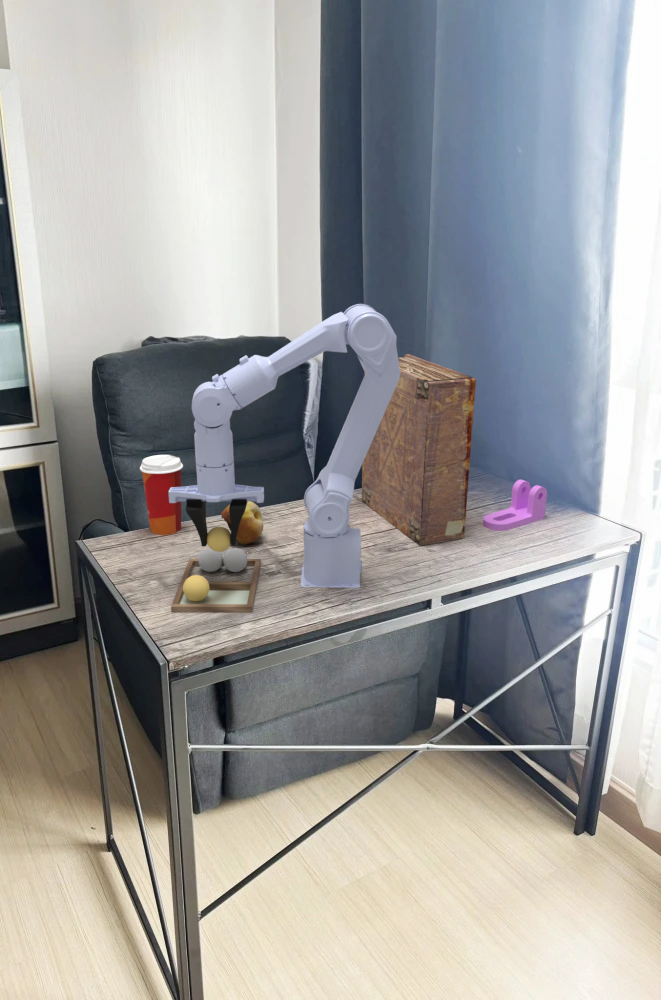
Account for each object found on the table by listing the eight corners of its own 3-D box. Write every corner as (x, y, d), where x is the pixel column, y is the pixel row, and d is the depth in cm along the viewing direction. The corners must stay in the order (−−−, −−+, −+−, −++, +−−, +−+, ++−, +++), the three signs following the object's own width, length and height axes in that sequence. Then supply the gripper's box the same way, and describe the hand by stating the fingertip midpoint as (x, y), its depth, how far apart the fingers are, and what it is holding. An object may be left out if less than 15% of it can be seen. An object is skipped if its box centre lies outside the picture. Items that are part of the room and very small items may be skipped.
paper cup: (168, 520, 155) (163, 451, 150) (195, 530, 151) (191, 459, 146) (135, 532, 150) (129, 460, 145) (162, 543, 145) (157, 469, 140)
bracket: (522, 510, 162) (525, 477, 160) (544, 519, 158) (547, 485, 155) (476, 524, 155) (479, 490, 152) (498, 533, 151) (501, 498, 148)
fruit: (243, 555, 140) (242, 512, 138) (212, 542, 145) (210, 501, 143) (274, 542, 146) (273, 501, 143) (242, 530, 151) (241, 490, 148)
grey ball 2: (252, 565, 134) (243, 543, 134) (248, 568, 130) (239, 545, 130) (230, 573, 135) (221, 551, 135) (226, 577, 131) (217, 554, 131)
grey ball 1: (218, 573, 135) (227, 551, 135) (216, 577, 131) (225, 554, 131) (196, 565, 134) (204, 542, 134) (193, 568, 130) (202, 545, 130)
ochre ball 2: (233, 545, 130) (233, 522, 128) (230, 556, 126) (230, 532, 124) (208, 545, 129) (207, 522, 128) (205, 555, 126) (204, 532, 124)
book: (361, 501, 166) (364, 356, 156) (400, 495, 170) (406, 353, 159) (420, 546, 144) (428, 382, 134) (464, 539, 148) (476, 377, 137)
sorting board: (260, 567, 136) (260, 557, 135) (252, 615, 120) (251, 605, 119) (189, 566, 136) (189, 557, 135) (171, 615, 120) (170, 605, 119)
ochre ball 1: (211, 593, 125) (210, 570, 124) (208, 606, 121) (206, 582, 120) (186, 593, 125) (184, 570, 124) (181, 605, 121) (180, 582, 120)
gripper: (162, 470, 119) (168, 554, 123) (260, 470, 119) (263, 554, 123) (171, 456, 125) (177, 536, 130) (263, 455, 125) (266, 536, 130)
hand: (219, 543), depth 127 cm, fingers closed on ochre ball 2, 4 cm apart
